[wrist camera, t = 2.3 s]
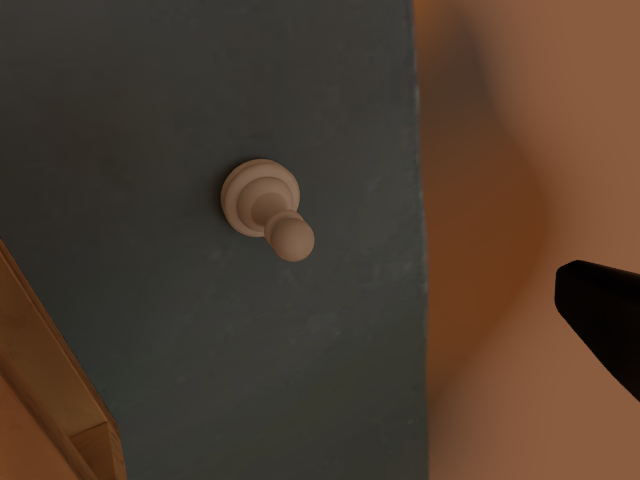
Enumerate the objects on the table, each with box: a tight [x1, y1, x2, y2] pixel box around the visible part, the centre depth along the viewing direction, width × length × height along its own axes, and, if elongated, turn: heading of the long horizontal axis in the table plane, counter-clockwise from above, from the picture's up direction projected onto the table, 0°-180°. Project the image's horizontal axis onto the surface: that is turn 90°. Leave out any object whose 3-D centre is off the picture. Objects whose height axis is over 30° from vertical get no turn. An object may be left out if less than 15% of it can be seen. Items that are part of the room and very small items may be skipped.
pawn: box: [221, 159, 314, 262], centre depth 18 cm, size 3×3×4 cm
